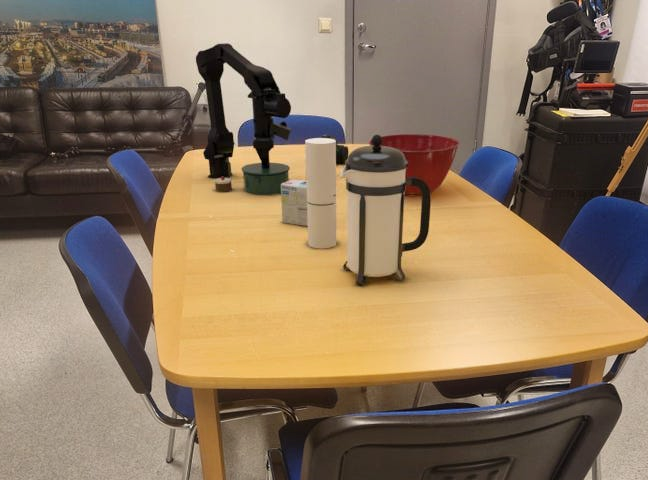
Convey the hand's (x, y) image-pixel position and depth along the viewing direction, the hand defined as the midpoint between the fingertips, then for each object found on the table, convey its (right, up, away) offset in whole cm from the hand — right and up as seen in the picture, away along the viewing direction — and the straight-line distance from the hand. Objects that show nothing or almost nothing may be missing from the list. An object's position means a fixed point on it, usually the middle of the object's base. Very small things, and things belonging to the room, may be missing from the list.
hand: (265, 166), depth 202 cm
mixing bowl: (+47, -7, +3) cm, 48 cm away
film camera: (+20, +13, +38) cm, 45 cm away
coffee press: (+34, -43, -60) cm, 81 cm away
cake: (-14, -7, +2) cm, 16 cm away
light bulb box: (+15, -24, -27) cm, 39 cm away
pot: (0, -6, +4) cm, 7 cm away
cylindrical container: (+20, -33, -43) cm, 58 cm away
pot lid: (0, -1, +1) cm, 1 cm away
